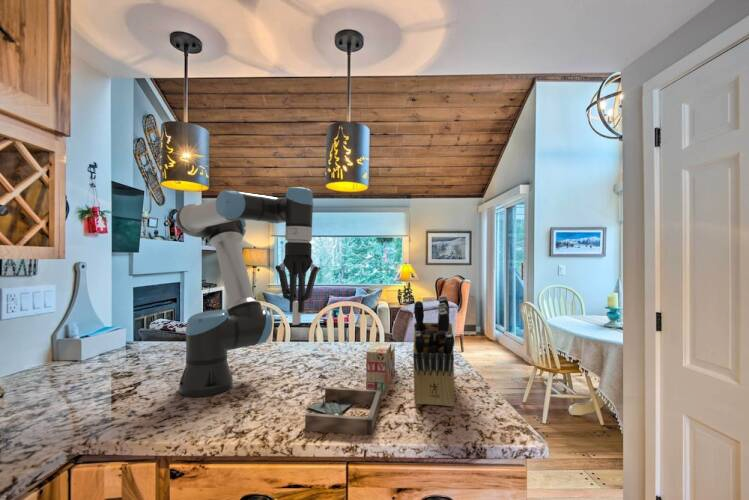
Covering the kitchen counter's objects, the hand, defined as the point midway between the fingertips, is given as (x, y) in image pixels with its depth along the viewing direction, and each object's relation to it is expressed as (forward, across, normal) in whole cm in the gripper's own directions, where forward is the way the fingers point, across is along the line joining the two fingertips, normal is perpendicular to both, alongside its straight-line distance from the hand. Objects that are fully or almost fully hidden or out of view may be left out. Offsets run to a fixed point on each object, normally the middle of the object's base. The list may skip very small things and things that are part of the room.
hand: (296, 323), depth 102 cm
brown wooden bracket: (+21, +17, -8) cm, 28 cm away
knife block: (+21, +40, +9) cm, 46 cm away
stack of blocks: (+22, +23, +20) cm, 38 cm away
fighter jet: (+22, +14, -8) cm, 27 cm away
